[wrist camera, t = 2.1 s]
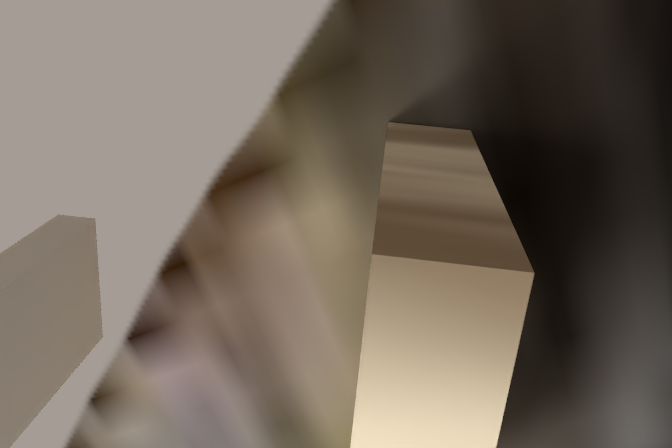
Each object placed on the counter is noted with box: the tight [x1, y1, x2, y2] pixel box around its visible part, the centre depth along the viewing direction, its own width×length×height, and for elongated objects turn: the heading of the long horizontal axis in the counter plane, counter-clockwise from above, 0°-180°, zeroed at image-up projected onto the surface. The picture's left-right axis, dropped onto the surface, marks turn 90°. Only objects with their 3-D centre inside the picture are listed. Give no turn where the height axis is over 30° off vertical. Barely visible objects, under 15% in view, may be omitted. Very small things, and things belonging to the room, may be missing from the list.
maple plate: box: [350, 122, 534, 448], centre depth 17 cm, size 13×2×10 cm, turn 175°
